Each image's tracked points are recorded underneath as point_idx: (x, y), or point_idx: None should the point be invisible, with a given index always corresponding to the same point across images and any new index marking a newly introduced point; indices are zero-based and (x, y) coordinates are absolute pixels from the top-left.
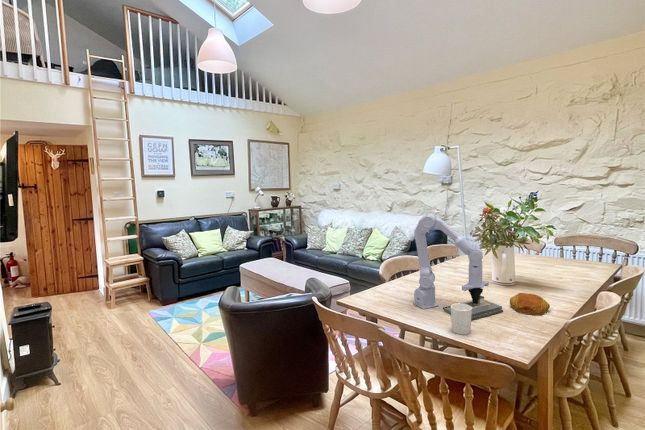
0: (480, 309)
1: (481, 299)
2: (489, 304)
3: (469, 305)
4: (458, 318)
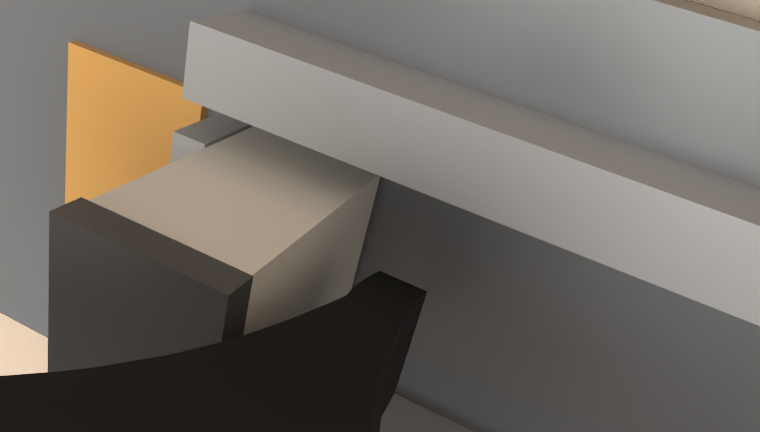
0: (523, 110)
1: (217, 239)
2: (84, 71)
3: (434, 413)
4: None
